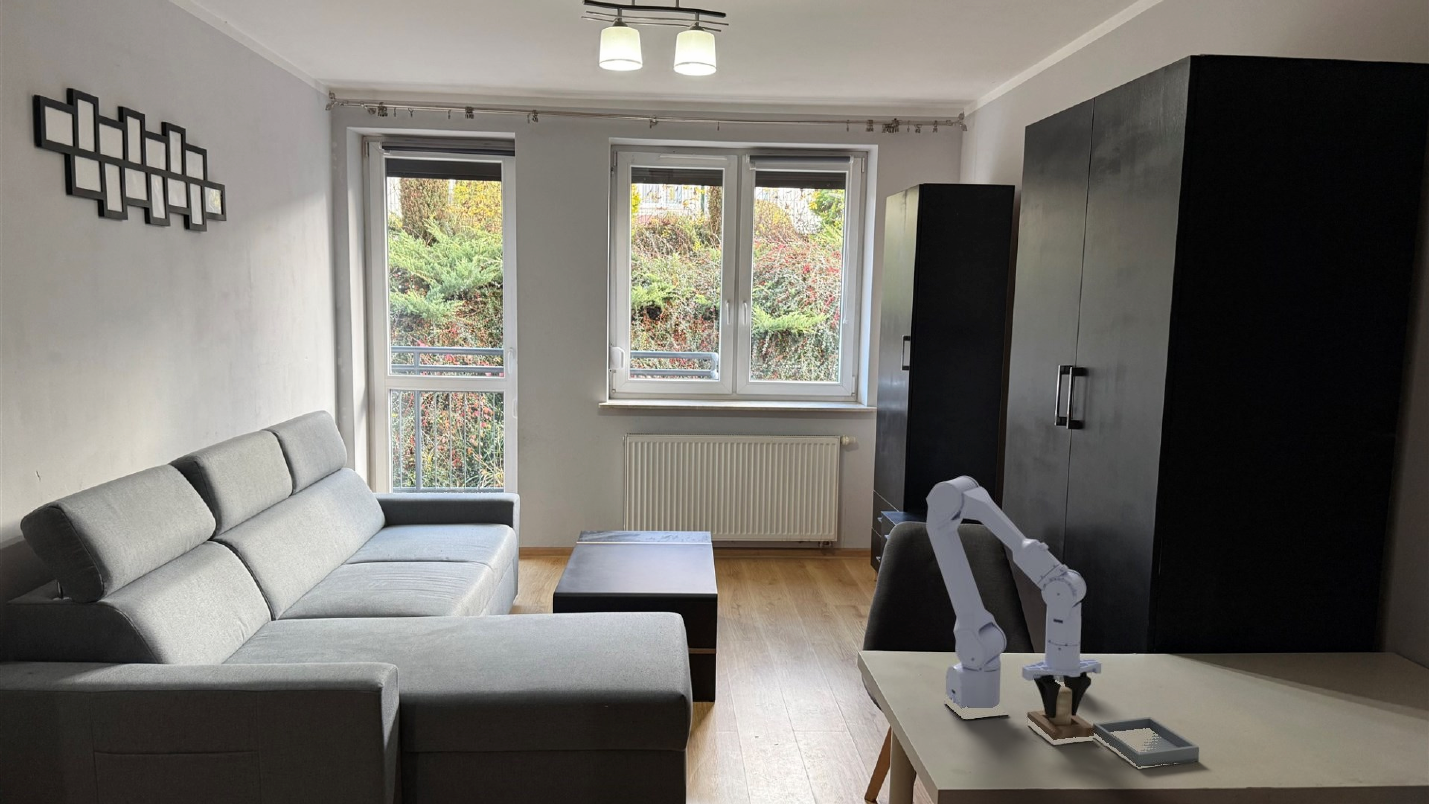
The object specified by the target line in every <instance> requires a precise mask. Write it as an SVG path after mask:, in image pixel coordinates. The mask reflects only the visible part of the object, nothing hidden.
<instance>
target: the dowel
mask: <svg viewBox="0 0 1429 804" xmlns="http://www.w3.org/2000/svg"><path fill="white" fill-rule="evenodd" d="M1071 712H1072V690H1071V689H1070V688H1068V687H1064V686H1061V687H1060V690H1059V693H1058V697H1057V704H1056V716H1055V718H1049V721H1050V722H1051V723H1052V724H1054V725H1055V726H1056V727H1057V726H1066V725H1071Z"/></svg>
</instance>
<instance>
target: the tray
mask: <svg viewBox="0 0 1429 804" xmlns="http://www.w3.org/2000/svg"><path fill="white" fill-rule="evenodd" d="M1092 726H1093V727H1094V733H1095V734H1097V735H1098V736H1099V737H1101V738H1102V740H1104V741H1105V742H1106V743H1109V745H1110V746H1112V747H1114V748H1116V749H1117V750H1118V751H1119V752H1121V754H1123V755H1124V756H1126V757H1127V758H1128V759H1129V760H1131V761H1132V762H1133V763H1135V764H1136V766H1138V767H1141V766H1155V765H1161V764H1162V765H1163V764H1174V763H1183V764H1189V763H1188V762H1191V763H1194V762H1193V761H1198V762H1199V759H1200V758H1199V757H1200V756H1199V754H1200V747H1199V746H1198V745H1197V744H1195V743H1193V742H1192V741H1190V740H1188V739H1186V738H1185V737H1184V736H1182V735H1180V734H1179V733H1177V732H1175V731H1174V730H1172V729H1170V728H1169V727H1168V726H1166V725H1164V724H1163V723H1161V722H1159V721H1158V720H1156V719H1155V718H1153V717H1151V716H1147V717H1146V716H1145V717H1139V718H1138V717H1136V718H1130V719H1122V720H1111V721H1103V722H1101V721H1100V722H1094V723H1093V724H1092ZM1143 728H1145V729H1146V728H1150V729H1151V730H1152V731H1154V732H1155V733H1156V734H1158V736H1155V735H1154V736H1152V737H1159V738H1156V739H1155V738H1153V739H1152V740H1154V741H1152V742H1149V743H1151V744H1149V745H1145V744H1144V746H1150V747H1147V748H1153V749H1150V750H1148V749H1147V750H1146V751H1147V752H1140V753H1139V752H1138V751H1136V750H1135V749H1133V748H1132V747H1130V746H1129V745H1127V744H1126V743H1124V742H1123V741H1122V740H1120V739H1119V738H1117V737H1116V736H1114V735H1113V734H1111V733H1110V732H1114V731H1126V730H1134V729H1143ZM1155 733H1153V734H1155ZM1160 737H1161V738H1160ZM1147 740H1148V739H1147ZM1150 740H1151V739H1150ZM1155 740H1158V741H1155ZM1144 743H1148V742H1144ZM1152 743H1153V744H1152ZM1155 743H1157V744H1155ZM1142 746H1143V745H1142ZM1152 746H1153V747H1152ZM1155 748H1156V749H1155ZM1141 751H1145V749H1144V750H1141Z"/></svg>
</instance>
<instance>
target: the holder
mask: <svg viewBox="0 0 1429 804" xmlns="http://www.w3.org/2000/svg"><path fill="white" fill-rule="evenodd" d="M1026 714H1027V717H1028V718H1029V719H1030V720H1031V721H1032V722H1034V723H1035V724H1036V725H1037V726H1038V727H1040V728H1041V729H1042V730H1043V731H1044V732H1045V733H1046V734H1048V735H1049V736H1050V737H1051V738H1052V739H1053V740H1057V739H1065V738H1073V737H1075V738H1076V737H1089V736H1094V727H1093V724H1091V723H1090V722H1087V721H1086V720H1085V719H1083V718H1082V717H1080V716H1079V715H1078V714H1076V716H1072V715H1071V725H1066V726H1057V727H1056V726H1055V725H1054V724H1052V723H1051V722H1050V721H1049V718H1050V717H1049V716H1048V715H1046V714H1045V710H1044V709H1043V710H1033V711H1027V713H1026ZM1027 717H1026V718H1027Z"/></svg>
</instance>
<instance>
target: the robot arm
mask: <svg viewBox="0 0 1429 804" xmlns="http://www.w3.org/2000/svg"><path fill="white" fill-rule="evenodd" d="M989 494H990V493H988V491H987V490H986V489H985V488H984V487H982V486H980V485H979V483H978V481H977V480H976V479H974V478H973V477H971V476H967V475H961V476H958V477H956V478H954V479H951V480H946V481H942V482H938V483H936V484H935V485H934V486H933V488H932V489H931V490H930V492H929V493H928V495H927V497H926V498H925V500H926V502H927V513H926V515H927V517H926V524H925V528H926V532H927V535H928V538H929V541H930V543H931V546H932V549H933V552H934V554H935V555H934V556H935V558H936V561H937V564H938V567H939V569H940V572H941V573H940V574H941V575H942V578H943V581H944V584H945V587H946V590H947V593H948V596H949V599H950V601H951V605H952V608H953V611H954V613H955V616H956V620H955V624H954V628H953V634H954V637H955V648H954V649H955V653H956V657H957V659H958V660H959V662H958V663H957V664H954V665H951V666H949V667H948V668H947V670H946V674H945V677H946V678H945V680H946V681H945V695H946V694H947V695H948V696H949V699H951V700H952V699H953V703H956V704H957V705H958V706H959V707H960V708H961V709H962V708H965V707H966V706H967V707H968V708H993V707H995V706H997V705H998V704H999V702H1000V701H1001V673H1002V672H1001V665H1002V664H1001V659H1000V657H1001V655H1002V653H1003V652H1004V651H1005V650H1006V647H1007V637H1006V634H1005V632H1004V631H1003V630H1002V628H1001V627H1000V626H999V625H998V624H997V622H996V620H995V617H994V615H993V614H992V613H991V612H989V611H988V610H986V609H985V606H984V604H983V601H982V598H981V595H980V592H979V589H978V587H977V583H976V581H975V578H974V576H973V572H972V568H971V567H970V563H969V560H968V557H967V554H966V552H965V550H964V547H963V543H962V541H961V538H960V535H959V531H958V528H959V526H960V524H961V523H962V522H963V519H966V520H968V519H969V520H975V521H978V522H981V524H983V525H984V527H986V528H987V529H988V530H989V531H990V532H991V533H993V534H994V536H995V537H996V538H997V539H999V540H1000V541H1001V542H1002V543H1003V544H1004V545H1005V546H1006V547H1008V548H1009V549H1010V550H1011V552H1012V560H1013V562H1014V563H1015V565H1017V566H1018V568H1020V569H1021V571H1023V573H1024V574H1025V575H1026V576H1027V577H1028V578H1030V580H1031V582H1033V583H1034V584H1035V585H1036V586H1037V587H1038V588H1039V589H1040V590H1041V598H1042V599H1043V602H1044V603H1045V604H1046V616H1045V617H1046V619H1045V644H1044V645H1045V650H1044V655H1045V656H1044V660H1042V661H1041V660H1040V661H1038V662H1035V663H1032V664H1031V663H1030V664H1029V665H1022V667H1021V668H1022V669H1021V677H1022V678H1023V679H1025V680H1027V681H1028V682H1029V681H1030V682H1031V681H1034V682H1035V685H1036V687H1037V689H1038V692H1039V694H1040V697H1041V699H1042V704H1043V705H1042V706H1043V710H1045V714H1046V715H1048V716H1049V717H1050V718H1055V716H1056V704H1057V697H1058V693H1059V690H1060V687H1061V685H1060V684H1058V683H1057V682H1055V679H1054V676H1063V678H1064V684H1065V687H1068V688H1070V689H1071V690H1072V712H1071V715H1072V716H1076V715H1077V712H1078V710H1079V706H1080V703H1081V701H1082V700H1083V696H1084V694H1086V692H1087V690H1088V689H1089V687H1090V686H1091V685H1092V678H1091V677H1089V676H1088V675H1087V674H1091V673H1093V674H1102V662H1100V661H1099V660H1097V659H1096V658H1094V659H1092V658H1091V659H1090V658H1089V659H1086V658H1085V659H1083V658H1081V657H1080V656H1081V635H1082V634H1081V630H1082V616H1081V615H1082V602H1080V601H1082V599H1084V597H1085V596H1086V593H1087V585H1086V581H1085V580H1084V577H1082V576H1081V573H1079V572H1078V571H1076V570H1074V569H1070V568H1069V567H1068V566H1067V565H1066V564H1062V563H1061V562H1060V561H1059V560H1058V559H1057V558H1056V557H1055V555H1053V554H1052V553H1051V552H1050V551H1049V550H1048V549H1049V547H1050V546H1048V545H1047V544H1046V543H1045V542H1044V541H1043V542H1042V543H1041V542H1040V541H1039V540H1038V539H1033V538H1027V537H1026V536H1025V534H1024V533H1022V531H1021V530H1019V529H1018V527H1017V526H1016V524H1014V523H1013V521H1012V520H1011V519H1010V518H1009V517H1008V516H1007V515H1006V513H1004V512H1003V510H1002V509H1001V508H1000V507H999V506H998V505H997V504H996V503H995V502H994V500H993V499H992V498H991V496H990V495H989ZM1000 703H1001V702H1000Z"/></svg>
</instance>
